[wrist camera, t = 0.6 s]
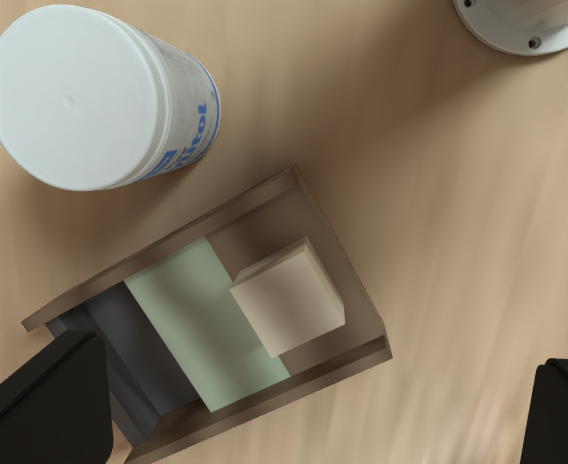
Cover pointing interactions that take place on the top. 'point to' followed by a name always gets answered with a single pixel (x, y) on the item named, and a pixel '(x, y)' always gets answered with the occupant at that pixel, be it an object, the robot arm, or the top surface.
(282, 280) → the birch block
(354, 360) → the lane deck
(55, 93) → the supplement tub
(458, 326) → the top surface
